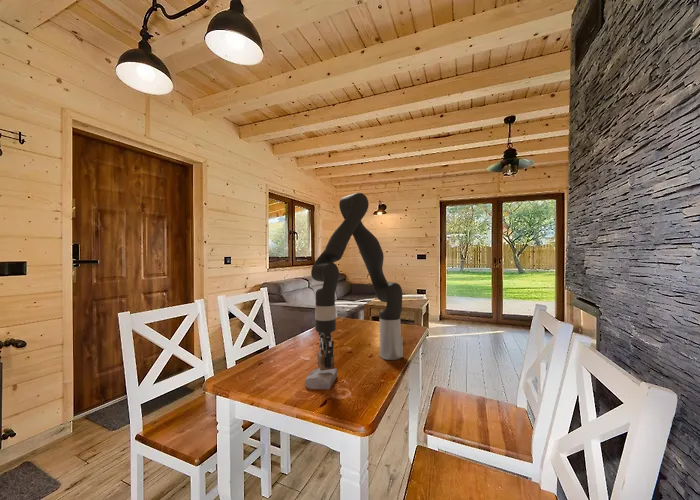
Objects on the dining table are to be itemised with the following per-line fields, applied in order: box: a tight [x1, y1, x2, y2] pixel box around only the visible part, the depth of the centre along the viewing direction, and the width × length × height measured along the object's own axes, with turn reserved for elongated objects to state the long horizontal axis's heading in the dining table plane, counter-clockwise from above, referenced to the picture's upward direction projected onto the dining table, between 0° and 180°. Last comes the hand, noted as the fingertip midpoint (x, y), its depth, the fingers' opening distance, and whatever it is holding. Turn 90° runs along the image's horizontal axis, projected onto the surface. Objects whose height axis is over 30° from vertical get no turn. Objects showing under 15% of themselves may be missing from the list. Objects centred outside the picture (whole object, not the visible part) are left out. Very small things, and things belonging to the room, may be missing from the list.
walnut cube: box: [317, 350, 335, 371], centre depth 104 cm, size 5×5×5 cm
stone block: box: [304, 367, 338, 390], centre depth 104 cm, size 12×5×10 cm
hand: (326, 364), depth 104 cm, fingers closed on walnut cube, 5 cm apart
